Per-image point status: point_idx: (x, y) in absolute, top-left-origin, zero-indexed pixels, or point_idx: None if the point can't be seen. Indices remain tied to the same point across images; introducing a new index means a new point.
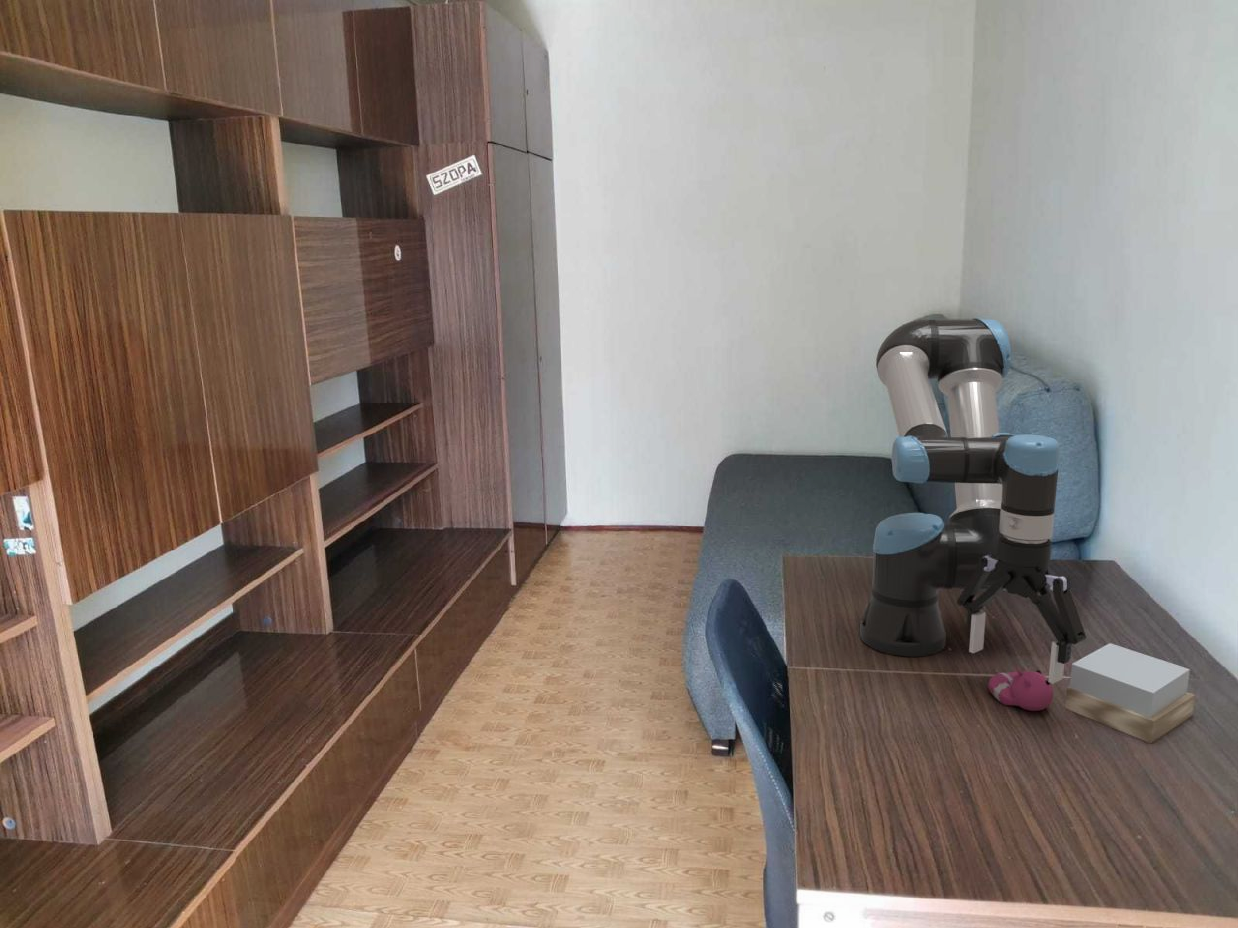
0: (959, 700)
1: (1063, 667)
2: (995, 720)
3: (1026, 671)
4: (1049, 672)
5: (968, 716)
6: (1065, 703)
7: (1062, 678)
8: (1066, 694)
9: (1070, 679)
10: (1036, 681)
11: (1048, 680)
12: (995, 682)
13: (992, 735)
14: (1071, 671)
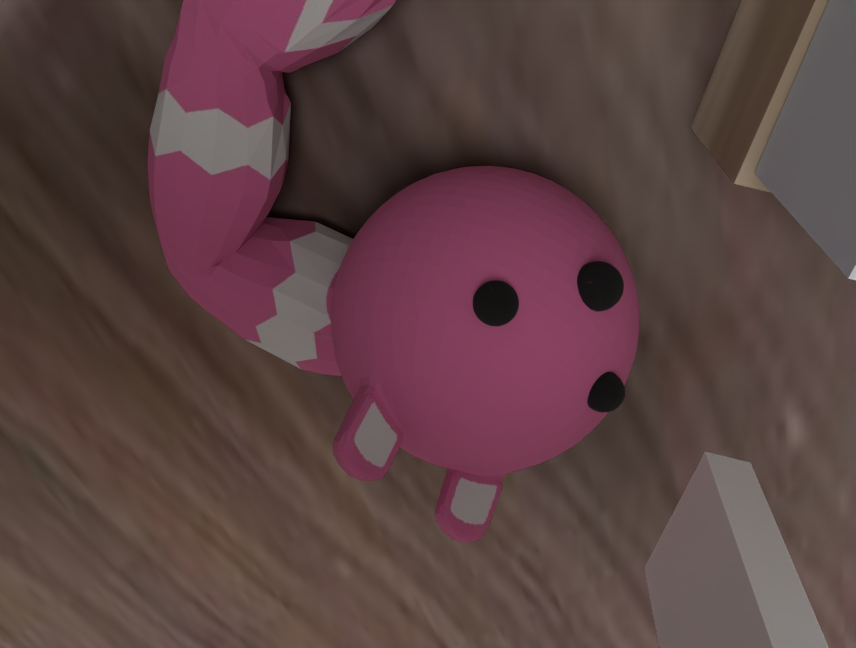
0: (145, 409)
1: (784, 556)
2: (385, 494)
3: (408, 372)
4: (661, 642)
5: (268, 523)
6: (700, 138)
7: (749, 470)
8: (719, 164)
9: (782, 199)
10: (528, 456)
11: (646, 578)
12: (223, 310)
13: (429, 606)
14: (816, 239)
